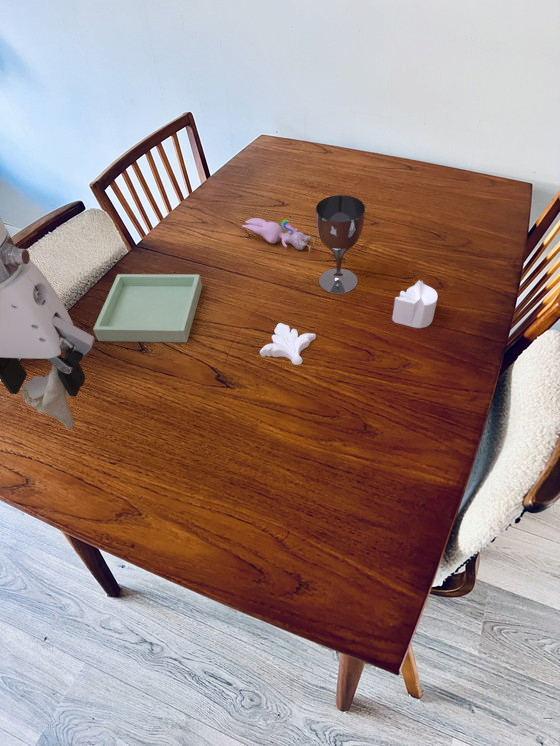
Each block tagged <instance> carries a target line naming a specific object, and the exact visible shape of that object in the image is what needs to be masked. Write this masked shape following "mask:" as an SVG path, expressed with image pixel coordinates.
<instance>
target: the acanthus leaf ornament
mask: <svg viewBox="0 0 560 746" xmlns="http://www.w3.org/2000/svg"><path fill="white" fill-rule="evenodd" d="M273 331H274V334H272V335H271V341H272V343H267V344H264V346H263V347H262V348H261V349H260V350H259V355H260V357H262V358H264V357H269V358H270V357H273V358H278V357H283V358H287V359H289V360H290V361H291V364H293V365H294V366H301V365H302V363H303V362H304V361H303V358H302V356H301V355H300V354H301V352H302V351H303V350H305V349H306V348H308V347H309V346H310V344H311V343H312V341H314V340H315V339H317V334H316V333H310V332H306V333H303V334H301V335H299V332H298V330H297V329H296V328H292V329H291V328H290V326H289V325H288V324H285V323H283V322H279V323H278V324H276V327H275V328H274V330H273Z"/></svg>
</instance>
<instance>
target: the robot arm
mask: <svg viewBox="0 0 560 746" xmlns="http://www.w3.org/2000/svg"><path fill="white" fill-rule="evenodd" d="M63 303H64V302H62V300H61V298H60V297H59V295H58V294H57V291H56V290H55V289H54V287H53V286H52V284H51V283H50V281H49V280H48V278H47V277H46V276H45V275H44V273H43V272H42V271H41V270H40V268H39V267H38V266H37V265H36V263H35V262H34V261H33V260H32V259H31V256H30V252H29V250H28V249H26V248H19V247H16V244H15V243H14V241H13V238H12V237H11V235H10V233H9V230H8V229H7V227H6V225H5V223H4V221H3V219H2V217H1V216H0V381H1V383H2V384H3V386H5V388H6V390H7V391H8V393H9V394H10V395H17V394H19V392H20V391H21V389H22V387H23V385H24V382H25V380H26V378H27V376H28V373H27V371H26V369H25V368H24V366H23V365H22V363H21V361H20V360H19V359H34V360H35V359H43V360H47V361H48V362H50V363H51V364H52V365H54V366H56V367H57V368H58V369H59V370H60V371H59V374H58V376H59V378H60V380H61V382H62V383H63V385H64V387H65V389H66V390H67V392H68V394H69V395H70V396H69V397H72V398H73V397H74V398H75V397H77V396H78V394H79V391H80V390H81V387H83V386H84V384H85V381H86V374H85V372H84V370H83V368H82V366H81V363H80V362H81V361H82V360H83V358H84V357H85V356H86V355H87V354H88V353H89V352H90V351H91V350H92V348H93V346H94V344H95V341H96V337H94V336H93V335H91V334H90V333H88V332H86V331H84V330H83V329H82V328H80V327H77V326H76V325H74V323H73V320H72V319H71V316H70V315H69V312H68V311H67V309H66V307H65V305H64V304H63ZM62 352H63V353H64V356H63V357H62Z"/></svg>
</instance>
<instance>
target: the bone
mask: <svg viewBox="0 0 560 746" xmlns="http://www.w3.org/2000/svg"><path fill="white" fill-rule="evenodd" d="M59 371H60V370H59V369H58V368H57V367H56V366H54V365H53V364H52V365H51V370H50V371H49V374H47V375H45V376H41V375H35V376H33V377H32V378H30V380H28V381H26V382H25V383H24V384H23V385H22V386H21V390H20V395H21V397H22V398H23V399H24V403H25V404H26V405H28V406H29V407H32V408H33V409H35V410H36V411H37V414H39V413H40V414H41V413H42V414H47V415H48V416H50V417H52V418H55V420H57V421H58V422H59V423H61V424H62V425H63V426H64V427H65V428H66V429H67V430H70V429H73V427H74V424H75V421H74V418H73V415H72V413H71V409H70V408H69V405H68V400H67V398H68V397H71V396H70V395H69V394H68V392H67V390H66V389H65V387H64V385H63V383H62V382H61V380H60V378H59V376H58V374H59Z"/></svg>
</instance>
